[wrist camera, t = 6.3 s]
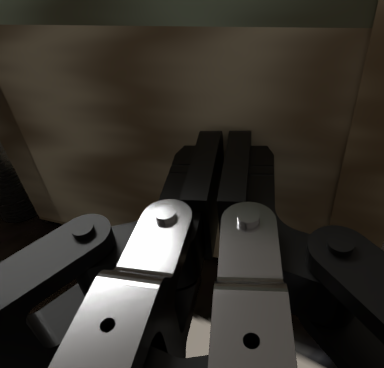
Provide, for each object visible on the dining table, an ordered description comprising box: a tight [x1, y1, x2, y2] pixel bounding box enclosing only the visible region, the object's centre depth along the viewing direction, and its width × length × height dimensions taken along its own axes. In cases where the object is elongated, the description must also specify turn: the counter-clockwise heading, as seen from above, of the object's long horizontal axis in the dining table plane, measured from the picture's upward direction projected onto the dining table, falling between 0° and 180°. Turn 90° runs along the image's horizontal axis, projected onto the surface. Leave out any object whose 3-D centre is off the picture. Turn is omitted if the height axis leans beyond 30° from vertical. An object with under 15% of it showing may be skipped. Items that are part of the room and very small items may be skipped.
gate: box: [0, 0, 384, 258], centre depth 14 cm, size 16×2×12 cm, turn 70°
